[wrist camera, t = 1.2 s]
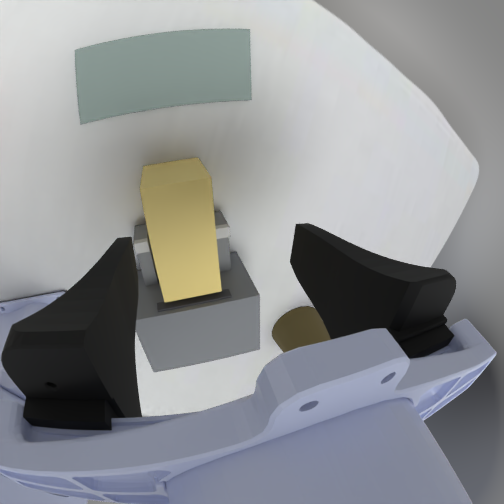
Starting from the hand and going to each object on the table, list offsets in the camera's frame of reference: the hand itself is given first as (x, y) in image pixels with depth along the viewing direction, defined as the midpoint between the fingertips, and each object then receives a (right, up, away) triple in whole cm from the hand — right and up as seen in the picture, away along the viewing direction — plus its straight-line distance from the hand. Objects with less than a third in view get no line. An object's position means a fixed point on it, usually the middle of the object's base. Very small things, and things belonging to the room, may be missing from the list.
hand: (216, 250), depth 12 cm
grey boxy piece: (-4, -2, +13) cm, 13 cm away
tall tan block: (-4, +3, +9) cm, 11 cm away
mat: (-4, +12, +4) cm, 13 cm away
